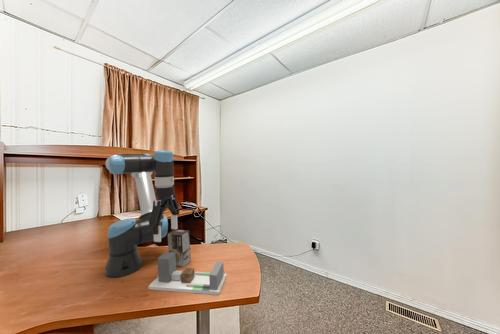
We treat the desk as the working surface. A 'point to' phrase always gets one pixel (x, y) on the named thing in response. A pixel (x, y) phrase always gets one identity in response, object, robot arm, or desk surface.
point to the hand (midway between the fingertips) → (166, 234)
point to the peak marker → (187, 275)
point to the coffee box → (180, 246)
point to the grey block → (168, 268)
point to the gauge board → (196, 282)
